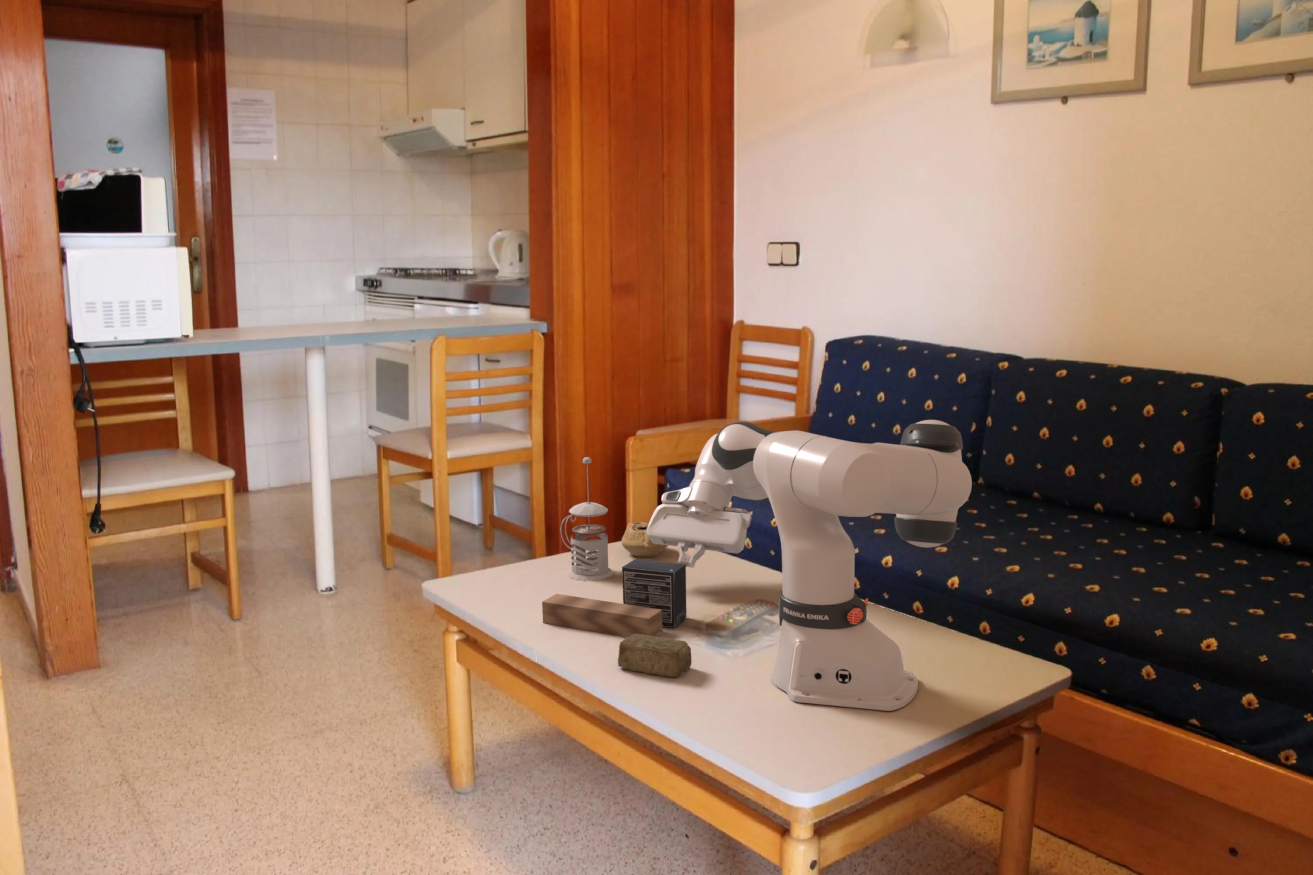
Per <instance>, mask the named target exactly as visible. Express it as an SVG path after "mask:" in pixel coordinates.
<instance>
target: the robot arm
mask: <svg viewBox="0 0 1313 875" xmlns="http://www.w3.org/2000/svg"><path fill="white" fill-rule="evenodd" d="M963 444H964V443H963V439H962V435H961V432H960V431H959V430H958V429H957V427H955V426H954V425H950V424H948V423H947V422H944V421H942V420H937V419H925V420H920V421H918V422H915V423H910V424H909V425H908V426H907V427H906V428H905V429H904V430H903V432H902V436H901V439H900V443H899V444H893V443H885V442H873V443H864V442H855V441H849V440H844V439H839V438H835V437H831V436H830V437H829V436H825V435H821V434H816V433H811V432H807V431H802V430H798V429H797V430H785V431H784V430H783V431H775V430H768V429H765V428H762V427H760V426H758V425H756V424H754V423H752V422H749V421H735V422H732V423H729V424H727V425H725V426H724V427H723V428H722V429H720V430H719V431H718V433H716V434H715V433H714V435H712V436H711V437H710V438H709V439H708V440H707V441H706V443H705V445H704V446H703V448H702V449H701V452H700V454H699V458H698V460H697V462H696V465H695V468H694V477H693V479H692V480H691V482H690V483H689V485H688V486H687V487H684V488H680V489H677V490H672V491H667V492H664V493H663V494H662V495H661V500H660V501H661V503H662V504H660V505H658V506H657V507H656V508H654V509H655V510H653V513H652V515H651V517H650V520H649V522H648V523H647V524H648V527H647V530H646V533H647V535H648V537H649V539H650V540H651V542H652V543H654V544H661V545H668V546H670V547H677V550H678V554H679V557H678V560H677V563H681V564H686V568H687V567H688V568H693V569H694V568H695V565H696V563H697V561H698V560H699V559H700V558H702V556H704V555H705V552H706V551H711V552H723V553H728V554H729V553H730V554H739V553H741V552H742V551H743V550H744V549H745V545H746V544H745V543H746V539H747V533H748V532H747V530H748V528H749V527H750V526H751V522H752V514H751V512H750V511H747V509H746V508H736V507H730V503H731V499H732V497H736V498H739V499H743V500H747V501H755V502H756V501H757V502H758V501H764V500H767V499H768V501H769V503H770V506H771V509H772V513H773V516H774V520H775V523H776V526H777V530H778V534H779V535H778V536H779V538H780V545H781V546H780V547H781V567H782V568H781V572H782V573H781V575H782V576H781V577H782V579H781V580H782V590H781V591H780V592H779V599H778V600H779V601H778V618H779V620H778V621H779V626H780V636H779V644H778V650H777V655H776V659H775V664H774V667H773V670H772V673H771V681H772V682H773V684H774V685H775V686H776V687H778V688H779V689H780V690H782V691H784V692H786V693H787V694H788V697H789V698H790V700H792V701H793V702H796V703H805V704H814V705H822V706H823V705H825V706H833V707H836V706H837V707H845V708H855V709H865V710H875V711H885V712H886V711H887V712H890V711H891V712H892V711H895V710H898V709H901V708H903V707H905V706H907V705H908V704H909V703H910V702H912V701H913V700H914V698H915V696H916V695H917V692H918V690H919V680H918V677H917V675H916V674H915V673H914V672H912V671H909V670H905V669H904V663H903V656H902V652H901V649H900V647H899V646H898V645H899V644H897V643H896V642H895V641H894V640H893V639H891V638H890V637H889V636H888V635H886V634H885V633H884V632H882V631H881V630H880V629H879V628H878V627H877V626H876V625H874V624H873V623H871V622H870V621H869V620H868V619H867V614H868V613H867V612H868V611H867V608H868V606H869V598H868V597H867V598H865V599H864V600H862V599H861V598H860V596H858V595H857V594H856V593H855V561H856V560H855V559H856V558H855V557H856V555H855V553H856V552H855V546H854V543H853V541H852V538H850V536H849V535H848V534H847V532H846V530H845V529H844V527H843V526H842V523H841V520H840V519H839V517H851V518H852V517H853V518H854V517H856V518H859V517H860V518H861V517H862V518H863V517H864V518H865V517H869V516H872V515H874V514H876V513H877V514H879V513H880V514H895V515H896V516H895V517H893V518H894V526H895V530H896V534H897V535H898V537H900V539H901V540H902V541H905V542H907V543H909V544H911V545H913V546H914V547H915V546H916V547H919V548H934V547H935V548H936V547H939V546H941V545H946V544H948V543H949V542H950V541H952V540H953V538H954V536H955V533H956V530H957V525H958V522H956V521H957V517H958V510H959V509H960V508H961V507H962V506H963V505H964V504H966V502H967V501H968V499H969V498H970V494H971V492H972V487H973V486H972V485H973V481H972V475H971V473H970V470H969V469H968V466H967V465H966V464H965V463H964V462H963V459H962V457H963V456H962V450H963V449H964V448H963V447H964V445H963ZM689 549H694V551H693V552H692V553H691V555H689V554H688V555H687V554H685V552H688V550H689Z"/></svg>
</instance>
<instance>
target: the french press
mask: <svg viewBox="0 0 1313 875" xmlns="http://www.w3.org/2000/svg"><path fill="white" fill-rule="evenodd" d="M582 464H586V485H587V488H586V489H587V501H585V502H581V503H578V504H575V505H573V506H572V507H570V509H569V510H568V513H570V515H569V514H568V515H567V516H565V518H563V519H562V521H561V524H560V527H559V531H560V536H561V540H562V543H563V544H564V545H565V546H566V547H567V548H568V549H569V550H571V551H570V553H571V568H570V569H569V571H568V572H567V573H568V574H567V577H568V576H569V577H568V578H570V579H572V580H576V581H583V580H588V581H587V582H589V581H590V580H593V581H601V580H605V579H607V577H608V578H610V577H612V576H613V575H614V570H612V569H611V568H610V567H609V547H608V546H609V542H608V541H609V540H608V534H607V533H606V530H607V528H606V526H604V525H602V524H601V525H600V524H590V518H594V517H600V516H603V515H606V514H607V513H608V511H609V509H608V508H607V507H606V506H604V505H602V504H599V503H597V502H592V501H591V502H590V496H589V464H592V458H590V457H589V456H586V457H584V458H582ZM572 516H574V519H573V517H572ZM577 517H583V518H587V517H588V518H587V521H588V524H580V525H576V526H574V527H573V528H572V529H571V532H572V533H574V534H572V535H570V539H569V538H568V537H569V536H568V534H567V533H568V532H567V523H568V520H569V519H570V522H571V523H574V522H575V521H576V520H577ZM565 520H566V521H565ZM564 521H565V523H564ZM563 524H564V533H565V536H566V539H567V542H568V543H569V544H570V546H569V545H568V544H567V543H566V542H565V541H564V537H563V532H562V527H563ZM591 537H598V538H600V539H597V538H593V539H588V538H591ZM586 539H588V540H586ZM590 582H591V581H590Z"/></svg>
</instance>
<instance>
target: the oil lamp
mask: <svg viewBox="0 0 1313 875" xmlns="http://www.w3.org/2000/svg"><path fill="white" fill-rule="evenodd" d="M648 524H649V523H647V522H642V521H636V522H629V523H628V524H627V525H626V529H625V531H624V534H623V536H622V537H621V545H622V547H623V548H624V549H625V550H626V551H627V552H629V553H630V554H631V555H633V556H635V557H642V558H651V557H656V556H659V555H660V554H661V553H662V551H663V550H665V549H666V548H667V547H668V546H669V545H661V544H654V543H652V542H651V540H650V539H649V537H648V535H647V533H646V530H647V527H648Z"/></svg>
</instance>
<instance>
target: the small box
mask: <svg viewBox="0 0 1313 875" xmlns="http://www.w3.org/2000/svg"><path fill="white" fill-rule="evenodd" d="M686 568H687V567H686V564H681V563H678V562H672V561H671V562H670V561H660V560H659V561H658V560H649V559H638V558H635V559H632V561H629V562H628V563H627V564H625V565H623V566H621V572H622V604H627V605H634V606H641V607H647V608H654V609H660V610H662V627H667V628H677V626H678V625H679V624H680V623H682V622H683V621H684V620H686V618H687V617H688V616H687V613H688V612H687V569H686Z"/></svg>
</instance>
